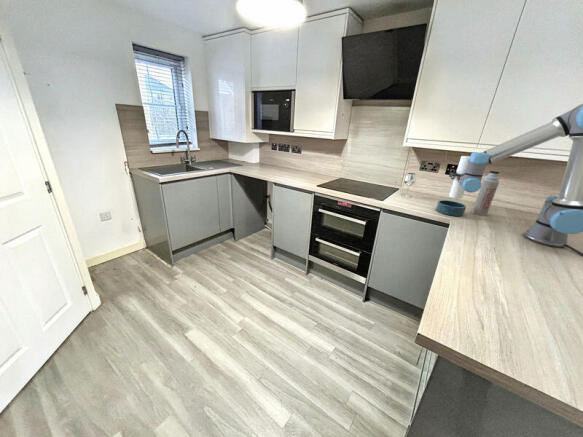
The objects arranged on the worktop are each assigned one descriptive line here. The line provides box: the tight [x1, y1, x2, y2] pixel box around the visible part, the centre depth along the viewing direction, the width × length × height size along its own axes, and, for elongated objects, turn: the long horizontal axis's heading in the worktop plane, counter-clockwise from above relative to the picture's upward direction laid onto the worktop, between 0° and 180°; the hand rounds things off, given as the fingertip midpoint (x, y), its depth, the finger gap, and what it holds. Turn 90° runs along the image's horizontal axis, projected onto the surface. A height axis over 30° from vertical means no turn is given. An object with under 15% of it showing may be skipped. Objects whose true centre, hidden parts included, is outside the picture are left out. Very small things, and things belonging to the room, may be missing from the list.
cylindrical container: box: [448, 155, 471, 200], centre depth 145 cm, size 7×7×25 cm
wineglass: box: [401, 172, 417, 198], centre depth 185 cm, size 8×8×18 cm
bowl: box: [435, 199, 467, 217], centre depth 154 cm, size 16×16×6 cm
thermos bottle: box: [471, 170, 501, 217], centre depth 150 cm, size 8×8×28 cm
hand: (461, 173), depth 149 cm, fingers closed on cylindrical container, 7 cm apart
